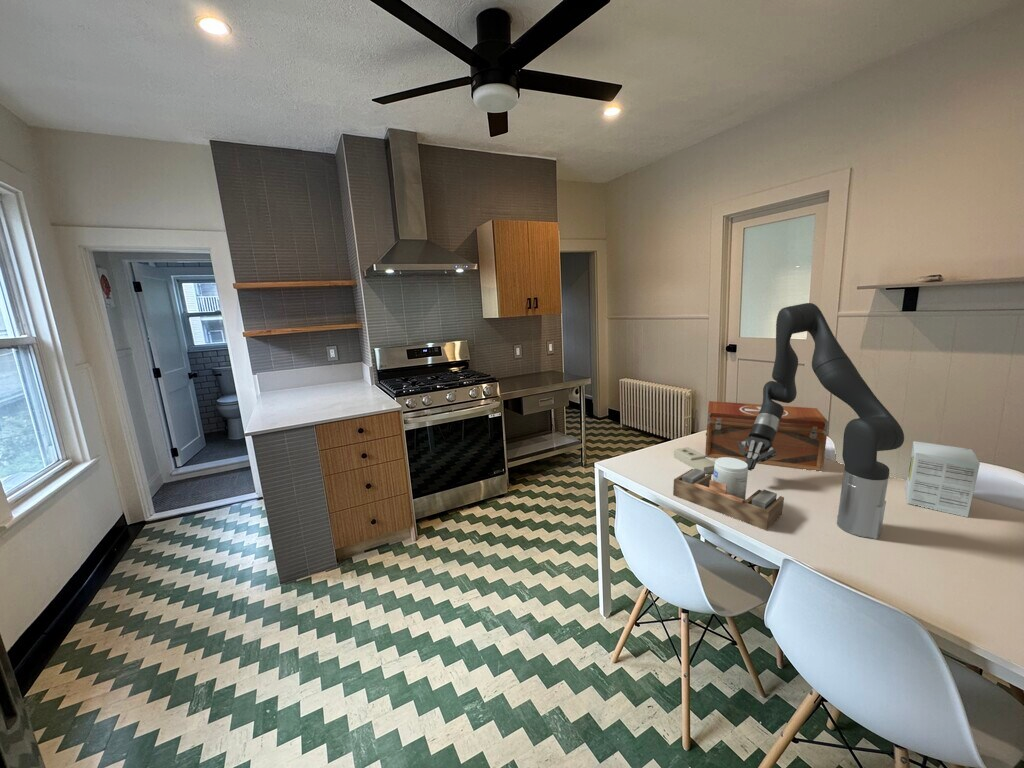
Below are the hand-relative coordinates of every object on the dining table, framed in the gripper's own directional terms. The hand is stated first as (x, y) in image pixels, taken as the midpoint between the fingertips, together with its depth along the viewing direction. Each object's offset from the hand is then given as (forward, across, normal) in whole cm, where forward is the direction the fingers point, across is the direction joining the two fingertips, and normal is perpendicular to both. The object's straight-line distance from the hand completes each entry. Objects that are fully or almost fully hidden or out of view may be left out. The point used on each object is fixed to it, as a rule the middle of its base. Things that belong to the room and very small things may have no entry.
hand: (748, 469), depth 137 cm
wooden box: (-18, -8, +29) cm, 35 cm away
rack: (+17, 0, -8) cm, 19 cm away
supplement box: (-16, +43, +26) cm, 53 cm away
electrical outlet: (+1, -22, +10) cm, 24 cm away
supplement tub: (+17, +1, -7) cm, 18 cm away
